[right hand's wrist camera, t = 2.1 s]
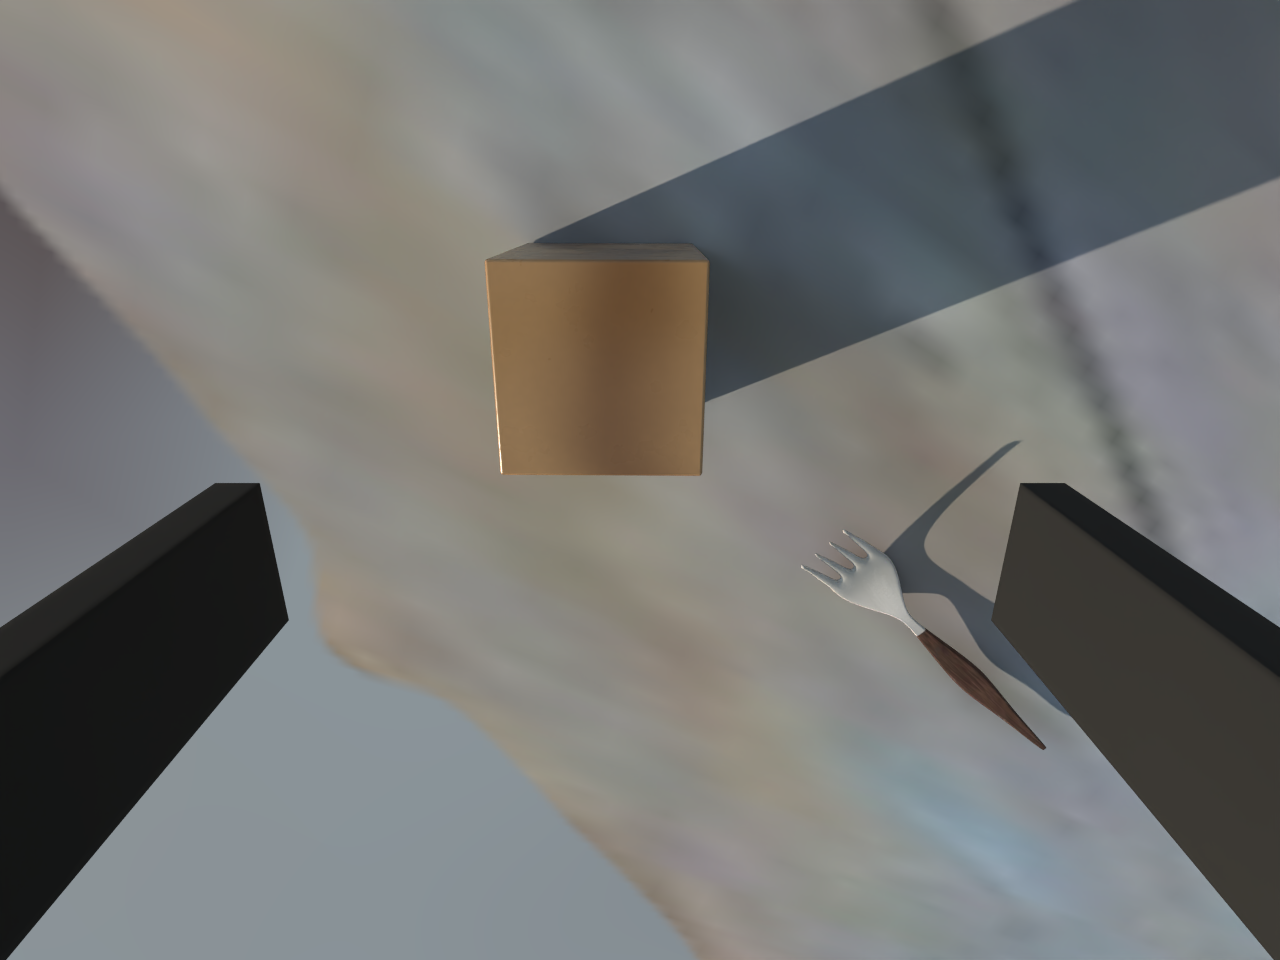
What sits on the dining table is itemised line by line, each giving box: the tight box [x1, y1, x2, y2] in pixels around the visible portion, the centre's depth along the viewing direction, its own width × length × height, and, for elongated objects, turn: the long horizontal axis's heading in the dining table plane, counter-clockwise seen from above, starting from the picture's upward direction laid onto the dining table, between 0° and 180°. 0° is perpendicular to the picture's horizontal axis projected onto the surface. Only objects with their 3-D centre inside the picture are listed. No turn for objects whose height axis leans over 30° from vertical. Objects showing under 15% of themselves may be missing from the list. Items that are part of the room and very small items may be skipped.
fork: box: [801, 530, 1046, 750], centre depth 30 cm, size 3×16×2 cm, turn 46°
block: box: [485, 243, 710, 476], centre depth 23 cm, size 6×6×7 cm
